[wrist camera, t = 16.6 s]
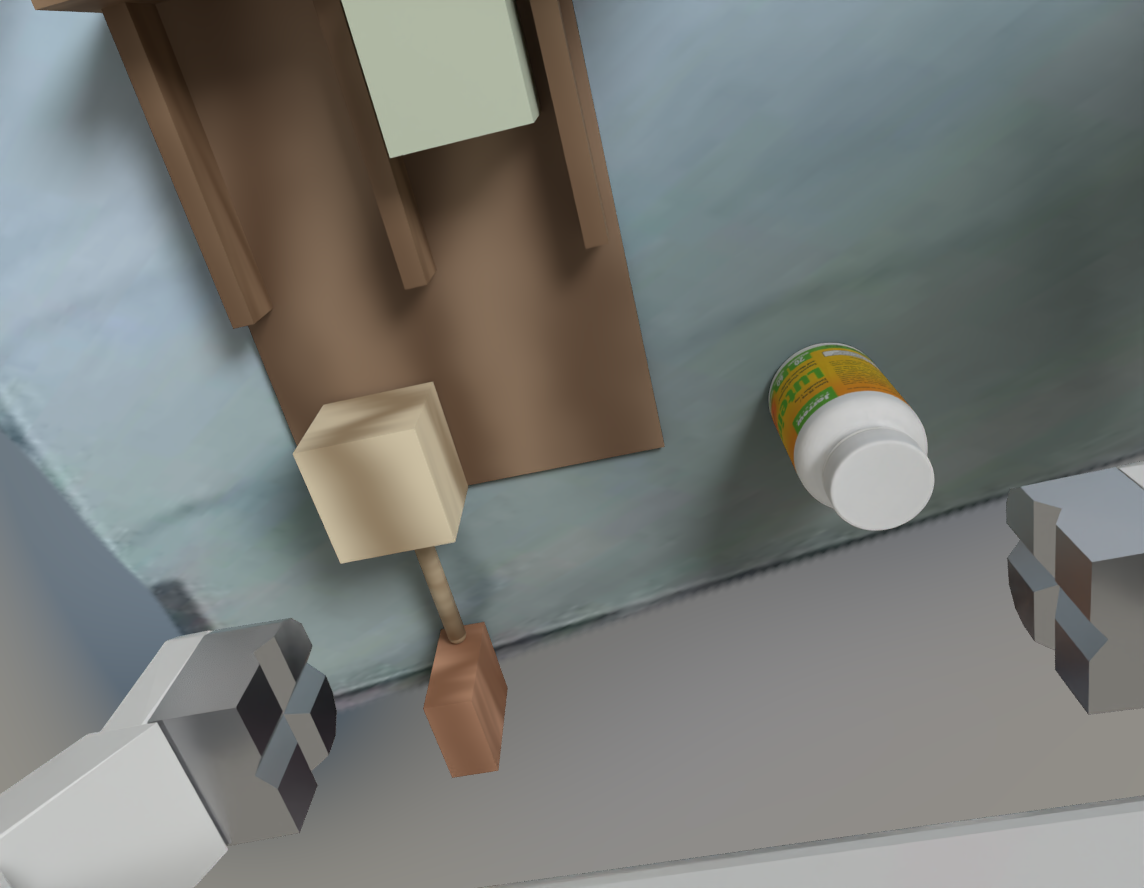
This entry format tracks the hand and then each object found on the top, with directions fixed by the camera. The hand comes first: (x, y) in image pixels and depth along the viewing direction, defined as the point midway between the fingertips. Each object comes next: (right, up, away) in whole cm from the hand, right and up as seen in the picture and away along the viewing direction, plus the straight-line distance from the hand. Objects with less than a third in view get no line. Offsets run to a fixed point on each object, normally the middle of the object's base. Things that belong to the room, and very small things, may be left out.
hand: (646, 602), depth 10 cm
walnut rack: (-8, +11, +29) cm, 32 cm away
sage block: (-6, +18, +26) cm, 32 cm away
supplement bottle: (+11, +4, +32) cm, 34 cm away
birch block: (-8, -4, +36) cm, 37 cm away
